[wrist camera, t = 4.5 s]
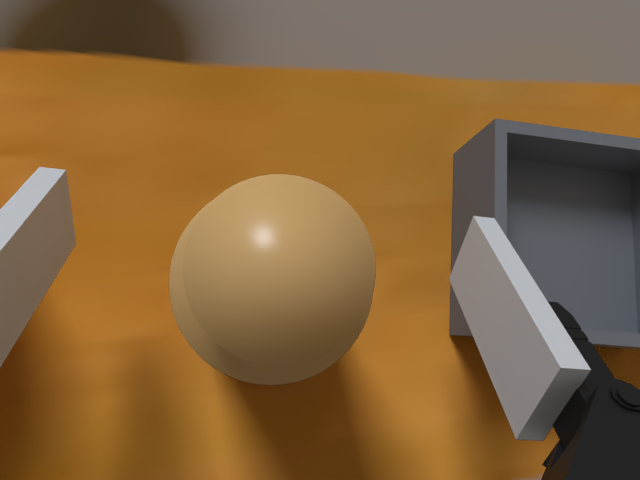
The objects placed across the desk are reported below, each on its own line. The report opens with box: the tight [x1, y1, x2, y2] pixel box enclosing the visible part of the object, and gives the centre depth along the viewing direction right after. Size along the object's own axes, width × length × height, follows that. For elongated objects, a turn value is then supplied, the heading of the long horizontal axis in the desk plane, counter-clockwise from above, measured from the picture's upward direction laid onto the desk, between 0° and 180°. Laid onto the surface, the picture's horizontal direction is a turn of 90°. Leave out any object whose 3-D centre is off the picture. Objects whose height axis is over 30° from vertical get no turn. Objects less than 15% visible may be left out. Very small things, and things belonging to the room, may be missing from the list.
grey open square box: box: [450, 119, 640, 349], centre depth 21 cm, size 8×8×4 cm
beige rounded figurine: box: [169, 174, 376, 385], centre depth 15 cm, size 5×5×12 cm
